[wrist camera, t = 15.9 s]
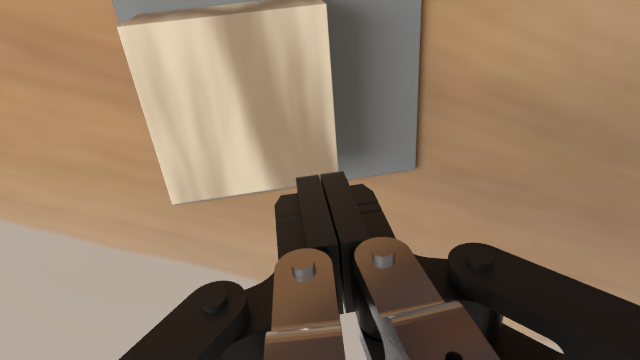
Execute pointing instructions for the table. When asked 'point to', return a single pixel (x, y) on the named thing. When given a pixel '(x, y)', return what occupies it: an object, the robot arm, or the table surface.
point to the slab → (235, 95)
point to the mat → (356, 78)
